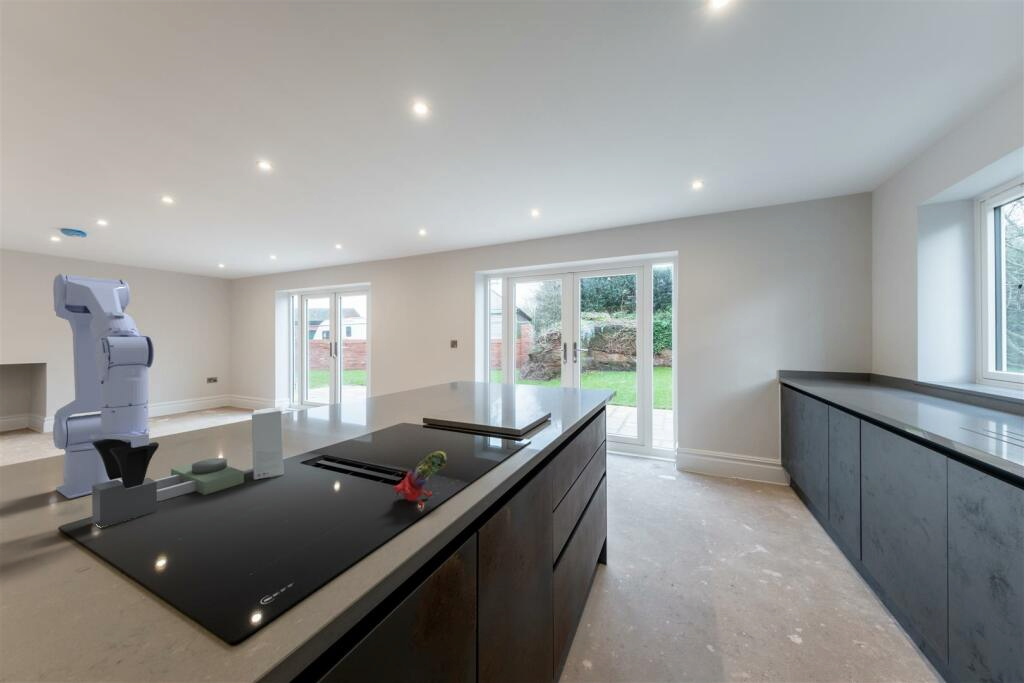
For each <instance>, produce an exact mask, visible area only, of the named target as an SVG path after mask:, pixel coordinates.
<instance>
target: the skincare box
mask: <svg viewBox="0 0 1024 683" xmlns="http://www.w3.org/2000/svg"><path fill="white" fill-rule="evenodd" d="M251 432H252V434H251V435H252V468H253V470H252V471H253V480H259V479H265V478H266V479H267V478H273V477H280V476H283V475H284V474H285V473H284V452H283V451H284V450H283V449H284V447H283V446H284V444H283V410H282V407H281V406H277V407H268V408H259V409H258V408H257V409H254V410H253V411H252V414H251Z"/></svg>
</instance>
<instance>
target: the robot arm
mask: <svg viewBox="0 0 1024 683" xmlns="http://www.w3.org/2000/svg"><path fill="white" fill-rule="evenodd" d="M52 287H53V288H52V289H53V290H52V291H53V292H52V293H53V310H54V312H55V316H56V317H58V318H61V319H63V320H66V321H68V323H69V326H70V328H71V331H72V349H73V351H72V352H73V353H72V354H73V375H74V399H73V401H71V402H69V403H67V404H65V405H63V406H62V407H61V408H59V409H57V410H56V412H55V414H54V420H53V421H54V422H53V427H52V437H53V444H54V448H55V447H56V449H58V450H64V453H65V455H64V456H63V461H62V462H63V464H62V465H63V467H62V468H63V469H62V470H63V471H62V472H63V474H62V475H63V476H62V477H63V482H62V483H63V484H62V485H60V486H57V487H55V490H56V491H57V492H59V493H60V494H62V496H64V497H65V498H67V499H74V498H75V499H76V498H77V497H82V496H87V495H92V485H96V484H101V483H105V482H109V481H113V480H119V481H121V482H123V485H124V487H125V488H131V487H135V486H138V485H142V484H143V482H144V479H145V478H146V475H147V471H148V468H149V465H150V462H151V460H152V458H153V456H154V455H155V453H156V452H157V450H158V449H159V447H160V444H159V442H156V441H155V442H150V431H151V427H150V426H149V369H150V368H151V367H152V365H153V363H154V356H155V355H154V354H155V349H154V343H153V341H152V337H151V336H149V335H146V334H141V333H140V331H139V329H138V326H137V325H136V322H135V320H134V318H133V317H131V315H129V314H127V313H124V312H125V311H126V308H127V307H128V305H129V304H130V299H131V290H130V285H129V283H128V282H126V280H125V279H113V278H112V279H110V278H101V277H91V276H90V277H89V276H80V275H70V274H65V273H59V274H57V275H55V277H54V280H53V286H52ZM97 412H100V413H97ZM87 413H89V414H87ZM90 413H93V414H90ZM94 413H95V414H94ZM77 414H85V415H77ZM73 415H77V416H73Z"/></svg>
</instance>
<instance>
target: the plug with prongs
mask: <svg viewBox="0 0 1024 683" xmlns="http://www.w3.org/2000/svg"><path fill="white" fill-rule="evenodd" d="M153 480H154V481H156V482H157V503H158V501H159V502H161V501H165V500H169V499H173V498H177V497H178V496H182V495H187V494H190V493H193V492H197V493H199V494H201V495H203V496H205V495H208V494H211V493H215V492H218V491H219V492H220V491H222V490H225V489H228V488H231V487H234V486H239V485H242V484H244V483H245V472H244V470H240V469H237V468H235V467H232V466H229V465H228V459H227V458H224V457H217V458H209V459H203V460H200V461H197V462H194V463H190V464H184V465H181V466H176V467H171V468H170V476H167V477H166V476H165V477H162V478H158V479H153Z"/></svg>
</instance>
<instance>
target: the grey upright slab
mask: <svg viewBox="0 0 1024 683" xmlns="http://www.w3.org/2000/svg"><path fill="white" fill-rule="evenodd" d="M154 480H155V479H152V478H150V477H145V479H144V482H143V484H142V485H138V486H135V487H131V488H125V487H124V485H123V482H121V481H119V480H113V481H109V482H105V483H101V484H96V485H92V493H91V495H92V496H91V497H92V498H91V499H92V500H91V502H92V503H91V505H92V506H91V508H92V509H91V510H92V514H91V515H92V518H91V519H92V522H94V523H95V524H97V525H98V526H100V527H102V526H106V525H110V524H114V523H117V522H121V521H124V520H128V519H131V518H134V517H138V516H141V515H144V516H147V515H150V514H149V513H151V514H153V512H154V513H157V512H158V511H157V510H158V509H157V508H158V506H157V505H158V504H157V503H158V502H157V482H156V481H154ZM146 514H147V515H146ZM141 517H142V516H141ZM138 518H139V517H138ZM134 519H135V518H134ZM131 520H132V519H131ZM128 521H129V520H128ZM92 522H91V523H92ZM121 523H122V522H121Z"/></svg>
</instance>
